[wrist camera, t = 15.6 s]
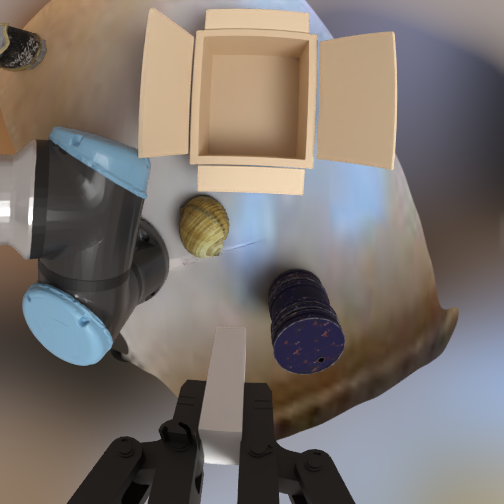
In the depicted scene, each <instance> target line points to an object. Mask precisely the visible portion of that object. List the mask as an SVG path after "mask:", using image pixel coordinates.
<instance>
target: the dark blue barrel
mask: <svg viewBox="0 0 504 504" xmlns="http://www.w3.org/2000/svg"><path fill="white" fill-rule="evenodd" d="M269 312H270V317H271V320H272V324H271V339H272V345H273V353H274V357H275V360H276V361H277V363H278V364H279V365H280V366H281V367H282V368H283V369H285V370H287V371H289V372H292V373H296V374H312V373H317V372H320V371H322V370H324V369H326V368H328V367H330V366H331V365H333V364H334V363H335V362H336V361H337V360H338V359H339V357H340V356H341V354H342V353H343V350H344V347H345V336H344V333H343V331H342V329H341V325H340V322H339V320H338V318H337V315H336V313H335V311H334V310H333V308H332V307H331V306H330V303H329V299H328V296H327V293H326V291H325V289H324V287H323V286H322V284H321V282H320V280H319V279H318V277H317V276H316V275H314V274H313V273H311V272H309V271H306V270H301V269H296V270H290V271H287V272H285V273H283V274H281V275H279V276H278V277H277V278H276V279H275V280H274V281H273V283H272V285H271V287H270V289H269Z"/></svg>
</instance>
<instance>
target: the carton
mask: <svg viewBox="0 0 504 504" xmlns="http://www.w3.org/2000/svg"><path fill="white" fill-rule="evenodd" d="M316 92H317V35H315V34H309V13H302V12H293V11H282V10H267V9H211V10H207V11H206V21H205V30H198V31H197V32H196V43H195V56H194V70H193V86H192V106H191V134H190V164H231V165H262V166H281V167H297V168H310V169H313V160H314V142H315V121H316ZM304 173H305V170H304V169H291V168H274V167H252V166H198V191H214V192H250V193H274V194H292V195H303V188H304Z"/></svg>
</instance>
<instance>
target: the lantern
mask: <svg viewBox="0 0 504 504" xmlns="http://www.w3.org/2000/svg"><path fill="white" fill-rule="evenodd" d="M8 25H9V24H8V23H1V24H0V68H3V69H5V70H8V71H21V70H25V69H33V68H34V67H36V66H37V65H38V64H39V63H40V62H41V61H42V60H43V58H44V55H45V53H46V51H47V50H46V44H45V40H43V39H41V38H40V37H39V35H38V34H36V33H31V32H28V31H24V30H21V29H17V28H14V27H10V26H8Z"/></svg>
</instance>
